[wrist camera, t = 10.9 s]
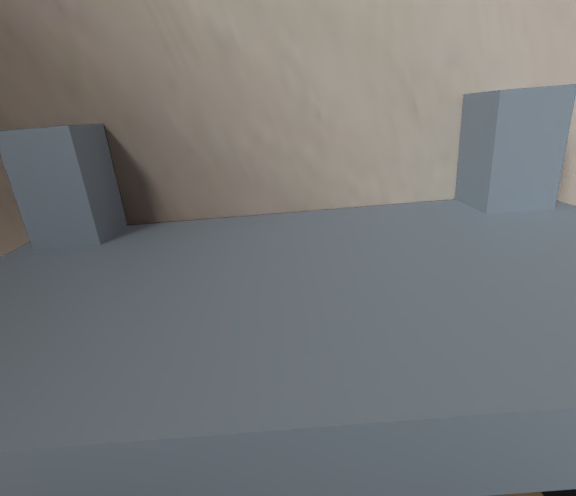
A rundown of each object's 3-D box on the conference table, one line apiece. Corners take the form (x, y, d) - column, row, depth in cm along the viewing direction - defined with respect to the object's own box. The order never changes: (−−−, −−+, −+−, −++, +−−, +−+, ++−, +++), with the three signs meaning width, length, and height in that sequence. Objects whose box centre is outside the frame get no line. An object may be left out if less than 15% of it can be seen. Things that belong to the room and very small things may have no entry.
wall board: (61, 264, 16) (-373, 560, 5) (19, 130, 14) (-795, 175, 3) (527, 228, 15) (1030, 455, 5) (549, 87, 14) (1419, -7, 3)
